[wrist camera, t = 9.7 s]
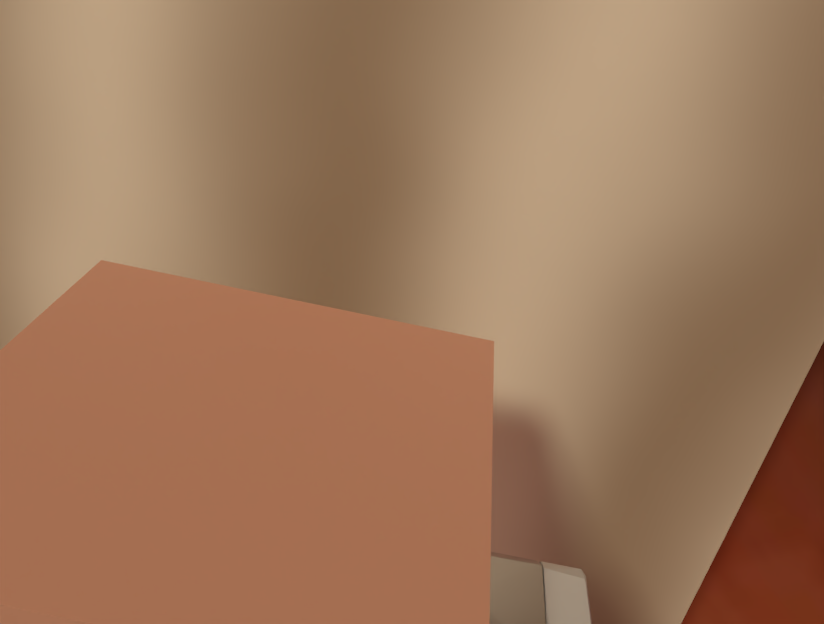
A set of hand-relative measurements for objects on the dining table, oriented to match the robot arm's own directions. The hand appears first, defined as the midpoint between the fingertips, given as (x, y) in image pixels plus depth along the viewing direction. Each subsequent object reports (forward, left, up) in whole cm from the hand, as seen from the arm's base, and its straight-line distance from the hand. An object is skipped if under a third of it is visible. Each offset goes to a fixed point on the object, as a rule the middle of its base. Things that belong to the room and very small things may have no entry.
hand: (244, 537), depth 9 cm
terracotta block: (0, 0, -2) cm, 2 cm away
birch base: (0, 0, -8) cm, 8 cm away
